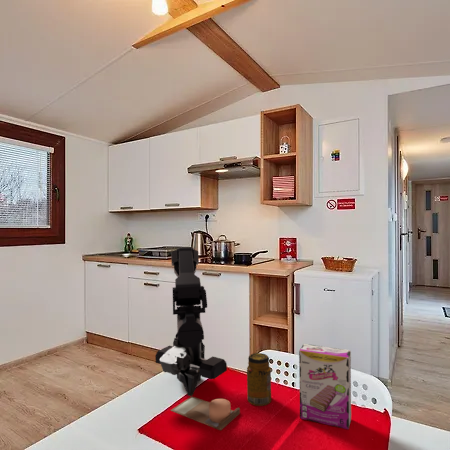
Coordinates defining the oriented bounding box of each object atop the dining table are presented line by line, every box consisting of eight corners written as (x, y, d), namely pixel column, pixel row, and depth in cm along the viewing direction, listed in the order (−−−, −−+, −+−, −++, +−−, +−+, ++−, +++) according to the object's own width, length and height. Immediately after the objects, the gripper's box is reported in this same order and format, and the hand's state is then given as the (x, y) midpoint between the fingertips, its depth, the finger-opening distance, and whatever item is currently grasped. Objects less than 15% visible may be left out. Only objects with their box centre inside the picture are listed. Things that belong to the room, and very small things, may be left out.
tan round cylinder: (205, 418, 80) (204, 405, 80) (217, 408, 84) (217, 396, 84) (222, 425, 78) (222, 412, 78) (234, 415, 82) (234, 402, 82)
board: (170, 413, 84) (170, 405, 84) (191, 399, 91) (191, 391, 91) (220, 433, 76) (220, 424, 76) (240, 416, 82) (239, 408, 82)
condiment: (259, 393, 93) (258, 349, 93) (283, 406, 87) (282, 358, 87) (239, 403, 89) (238, 356, 88) (263, 417, 82) (262, 366, 82)
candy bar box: (299, 420, 80) (297, 349, 80) (303, 409, 85) (302, 342, 85) (350, 431, 76) (348, 356, 76) (352, 419, 80) (350, 349, 80)
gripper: (138, 335, 84) (139, 399, 84) (198, 350, 74) (199, 423, 74) (169, 323, 93) (171, 381, 94) (227, 335, 83) (228, 400, 83)
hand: (190, 395), depth 86 cm, fingers closed
